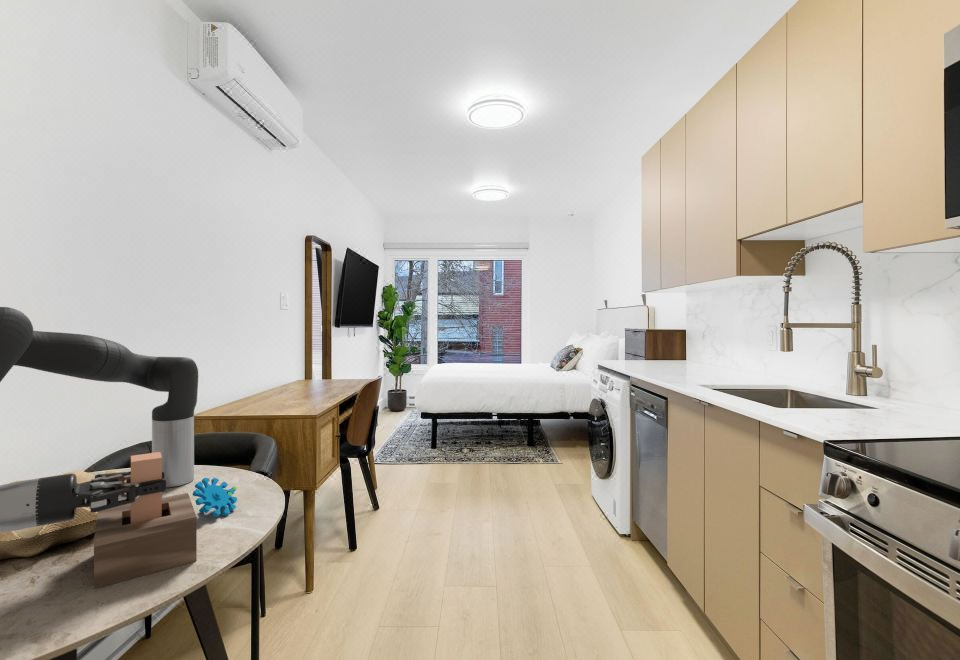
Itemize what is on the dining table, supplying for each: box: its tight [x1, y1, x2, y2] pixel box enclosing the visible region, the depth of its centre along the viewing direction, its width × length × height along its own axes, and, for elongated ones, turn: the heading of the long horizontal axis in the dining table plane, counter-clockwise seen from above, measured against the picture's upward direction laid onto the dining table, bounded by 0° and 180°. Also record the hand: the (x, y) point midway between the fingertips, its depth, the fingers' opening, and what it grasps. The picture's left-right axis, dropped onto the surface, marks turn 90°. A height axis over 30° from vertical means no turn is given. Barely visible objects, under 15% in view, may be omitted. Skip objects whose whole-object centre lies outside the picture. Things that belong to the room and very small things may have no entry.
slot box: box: [93, 492, 198, 590], centre depth 82 cm, size 14×14×8 cm
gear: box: [192, 477, 238, 518], centre depth 101 cm, size 11×6×10 cm
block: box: [130, 452, 163, 524], centre depth 82 cm, size 4×4×12 cm
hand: (164, 480), depth 83 cm, fingers closed on block, 4 cm apart
